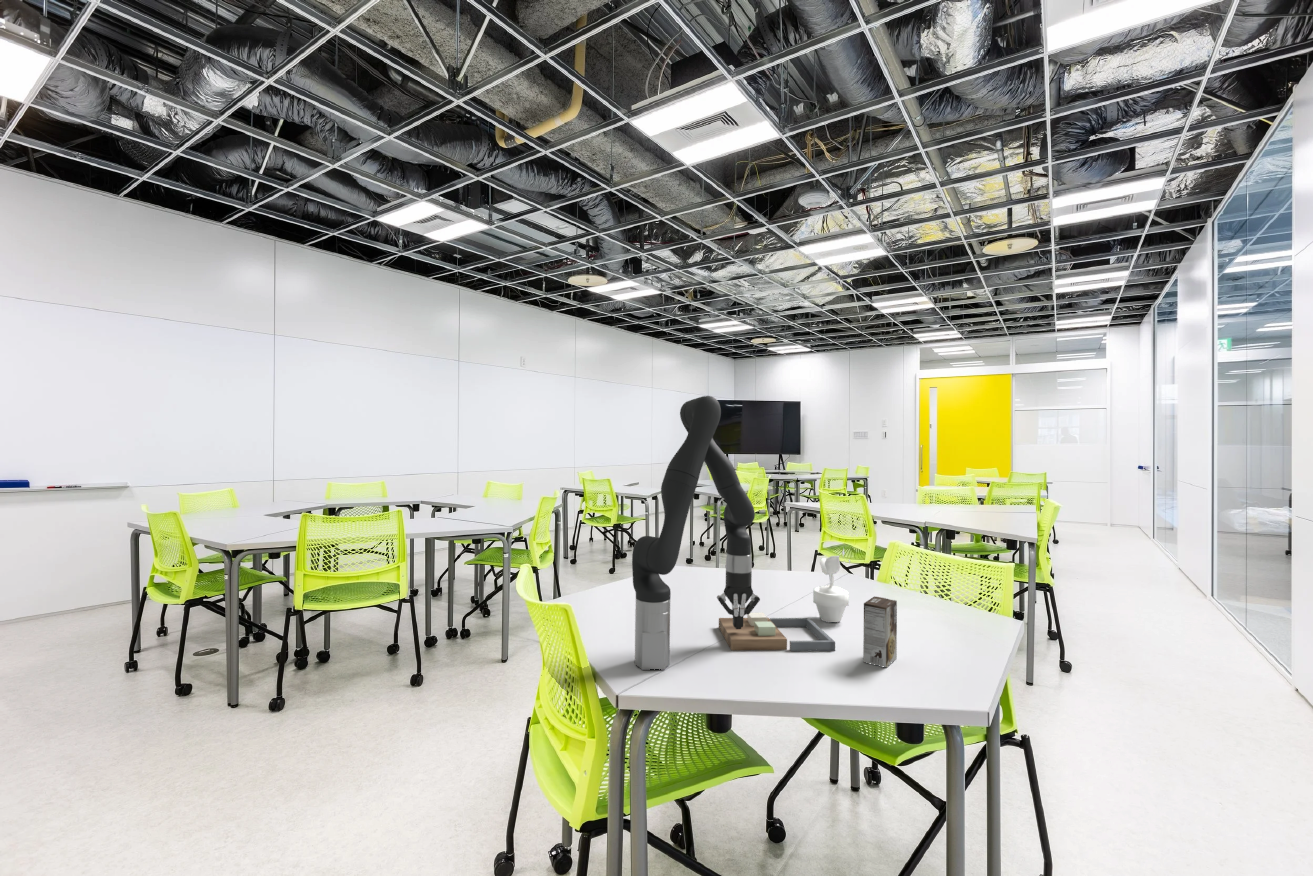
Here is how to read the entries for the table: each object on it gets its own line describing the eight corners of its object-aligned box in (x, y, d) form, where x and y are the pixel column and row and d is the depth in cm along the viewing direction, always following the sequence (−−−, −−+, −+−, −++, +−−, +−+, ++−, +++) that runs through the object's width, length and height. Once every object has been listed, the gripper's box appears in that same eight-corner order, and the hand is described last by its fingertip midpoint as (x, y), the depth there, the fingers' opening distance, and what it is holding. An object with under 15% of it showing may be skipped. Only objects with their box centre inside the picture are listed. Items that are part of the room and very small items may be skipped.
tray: (835, 650, 162) (835, 641, 162) (790, 651, 161) (791, 642, 161) (808, 625, 184) (808, 617, 184) (769, 625, 183) (769, 618, 183)
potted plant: (853, 626, 184) (854, 548, 184) (817, 625, 184) (818, 548, 184) (841, 614, 197) (842, 542, 197) (808, 613, 197) (808, 541, 197)
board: (786, 649, 162) (787, 639, 162) (731, 650, 161) (731, 639, 161) (768, 627, 182) (768, 617, 182) (718, 627, 181) (718, 618, 181)
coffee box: (873, 653, 160) (874, 595, 160) (897, 659, 156) (897, 600, 156) (862, 662, 153) (862, 602, 153) (886, 668, 149) (887, 607, 149)
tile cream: (767, 625, 174) (767, 617, 174) (751, 625, 173) (751, 617, 173) (763, 620, 179) (763, 612, 179) (747, 620, 178) (747, 612, 178)
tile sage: (775, 635, 165) (775, 626, 165) (758, 635, 164) (758, 627, 164) (770, 630, 170) (770, 621, 170) (754, 630, 169) (754, 621, 169)
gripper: (718, 572, 162) (717, 633, 162) (764, 572, 163) (763, 632, 163) (714, 566, 170) (713, 624, 170) (757, 566, 171) (757, 624, 171)
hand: (738, 628), depth 167 cm, fingers closed
